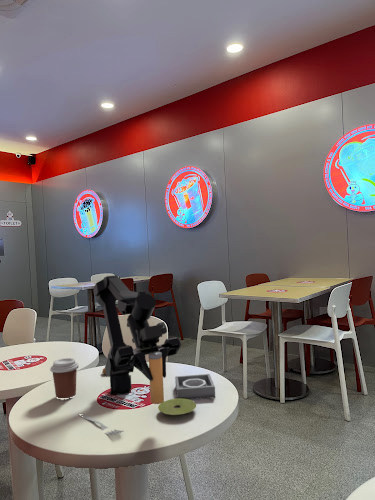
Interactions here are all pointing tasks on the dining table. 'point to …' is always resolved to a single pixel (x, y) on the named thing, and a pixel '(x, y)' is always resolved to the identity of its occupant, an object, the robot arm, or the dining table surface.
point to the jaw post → (156, 377)
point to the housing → (194, 386)
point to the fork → (102, 426)
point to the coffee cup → (64, 377)
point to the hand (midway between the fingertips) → (158, 378)
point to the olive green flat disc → (177, 406)
